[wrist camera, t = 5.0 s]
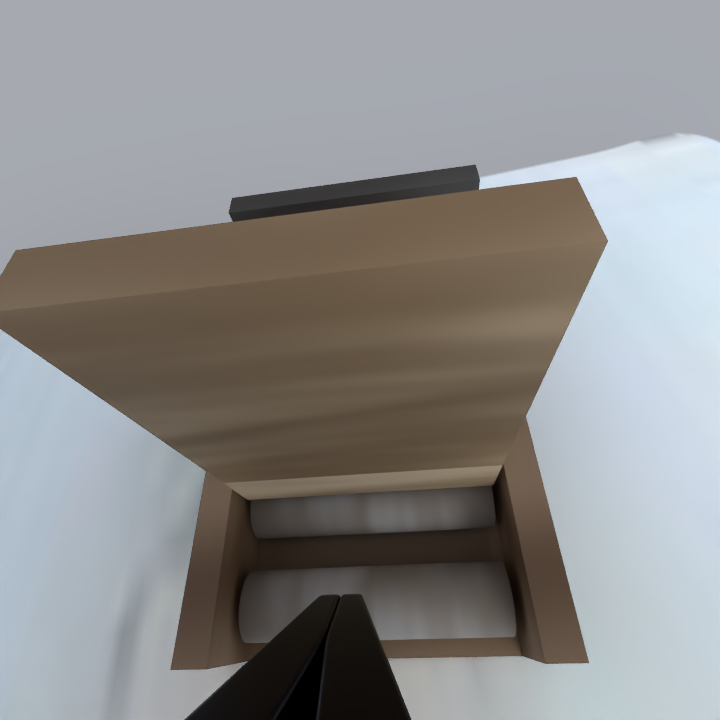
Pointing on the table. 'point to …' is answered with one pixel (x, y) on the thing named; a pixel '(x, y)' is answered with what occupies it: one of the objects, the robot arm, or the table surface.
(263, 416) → the slab
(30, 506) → the table surface
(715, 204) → the table surface
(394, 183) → the roller track
